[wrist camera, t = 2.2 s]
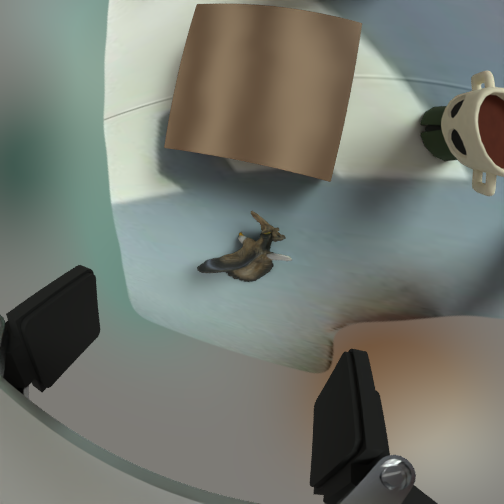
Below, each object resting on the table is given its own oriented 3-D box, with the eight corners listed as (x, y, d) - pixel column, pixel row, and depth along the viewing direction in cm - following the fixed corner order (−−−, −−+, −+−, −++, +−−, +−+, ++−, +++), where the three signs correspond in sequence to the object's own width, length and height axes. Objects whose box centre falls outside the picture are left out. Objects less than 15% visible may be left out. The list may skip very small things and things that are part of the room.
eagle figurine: (239, 194, 31) (189, 254, 33) (264, 224, 25) (202, 294, 27) (282, 228, 36) (235, 279, 37) (310, 260, 30) (254, 317, 32)
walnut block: (354, 43, 23) (362, 23, 18) (326, 175, 29) (330, 181, 24) (215, 24, 25) (196, 4, 20) (188, 146, 31) (164, 147, 26)
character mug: (413, 82, 23) (466, 51, 11) (464, 95, 22) (529, 79, 10) (413, 176, 27) (470, 195, 15) (463, 184, 26) (530, 208, 14)
